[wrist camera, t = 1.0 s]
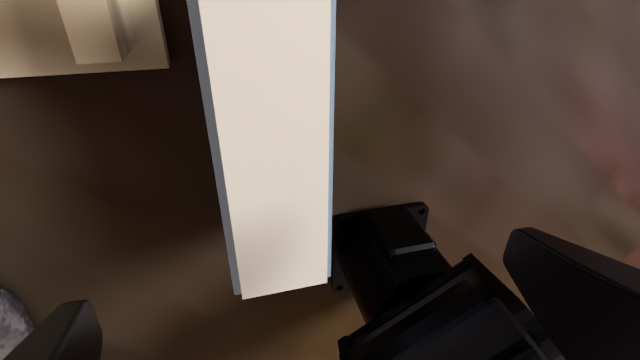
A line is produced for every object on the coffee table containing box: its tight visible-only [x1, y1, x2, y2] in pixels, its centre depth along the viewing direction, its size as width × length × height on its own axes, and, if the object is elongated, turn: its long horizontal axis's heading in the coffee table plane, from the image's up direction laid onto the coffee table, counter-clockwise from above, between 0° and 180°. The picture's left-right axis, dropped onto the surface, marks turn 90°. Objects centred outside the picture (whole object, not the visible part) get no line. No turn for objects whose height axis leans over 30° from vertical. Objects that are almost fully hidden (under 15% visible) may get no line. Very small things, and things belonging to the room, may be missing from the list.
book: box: [186, 0, 336, 300], centre depth 16 cm, size 11×4×8 cm, turn 0°
